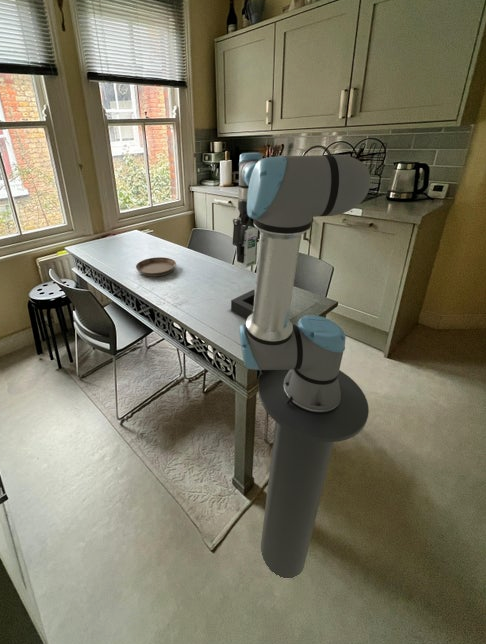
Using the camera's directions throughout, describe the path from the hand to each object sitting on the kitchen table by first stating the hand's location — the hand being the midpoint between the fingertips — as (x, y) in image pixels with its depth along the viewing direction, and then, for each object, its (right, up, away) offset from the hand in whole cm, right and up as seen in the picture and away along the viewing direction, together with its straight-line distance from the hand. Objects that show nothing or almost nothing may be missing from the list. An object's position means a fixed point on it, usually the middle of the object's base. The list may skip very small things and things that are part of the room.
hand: (246, 259), depth 121 cm
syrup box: (0, -2, +1) cm, 2 cm away
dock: (+4, -21, +4) cm, 21 cm away
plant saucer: (-39, -4, +43) cm, 58 cm away
